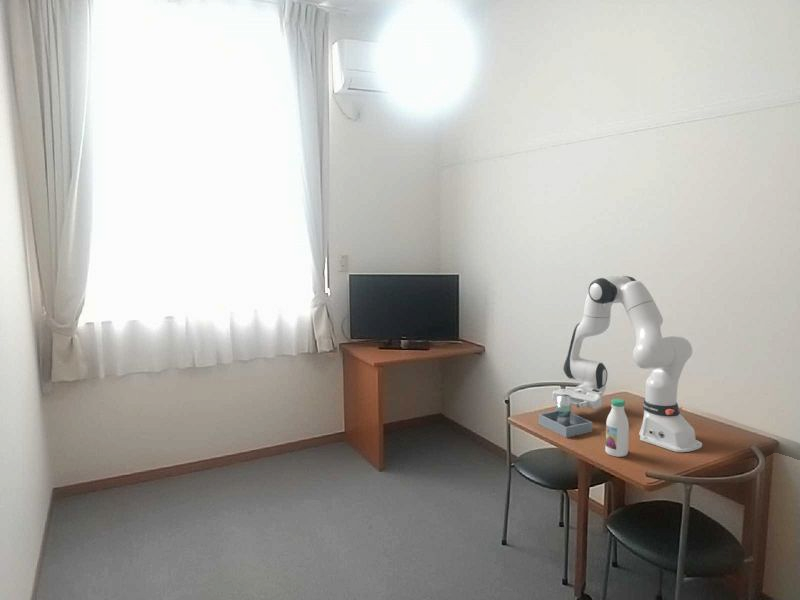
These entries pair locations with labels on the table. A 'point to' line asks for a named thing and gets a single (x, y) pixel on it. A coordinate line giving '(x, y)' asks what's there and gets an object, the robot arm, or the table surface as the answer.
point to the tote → (575, 428)
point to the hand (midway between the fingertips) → (567, 403)
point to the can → (563, 409)
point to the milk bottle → (617, 430)
